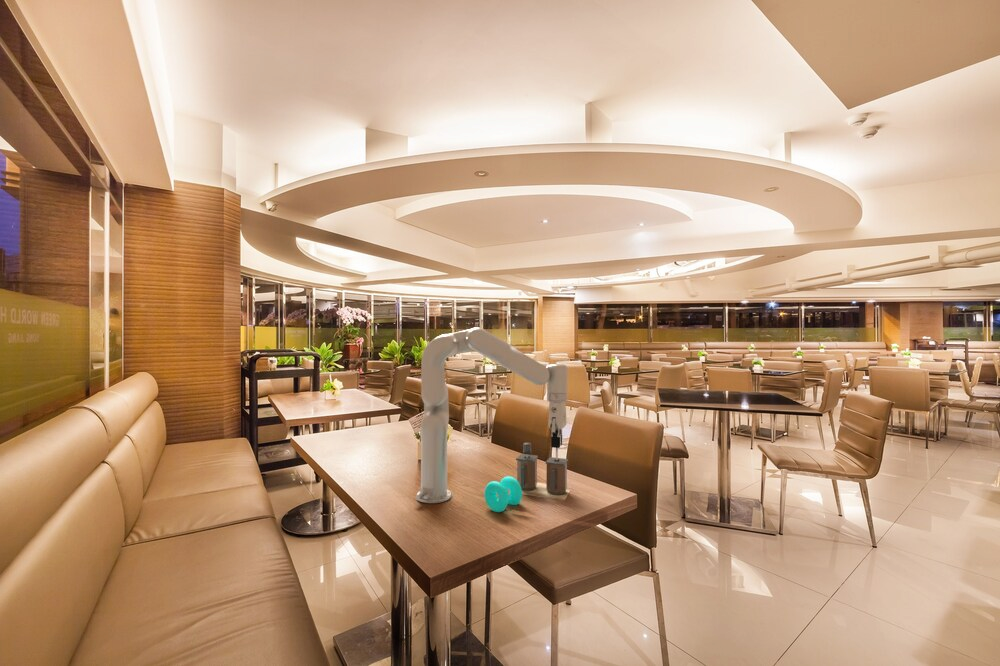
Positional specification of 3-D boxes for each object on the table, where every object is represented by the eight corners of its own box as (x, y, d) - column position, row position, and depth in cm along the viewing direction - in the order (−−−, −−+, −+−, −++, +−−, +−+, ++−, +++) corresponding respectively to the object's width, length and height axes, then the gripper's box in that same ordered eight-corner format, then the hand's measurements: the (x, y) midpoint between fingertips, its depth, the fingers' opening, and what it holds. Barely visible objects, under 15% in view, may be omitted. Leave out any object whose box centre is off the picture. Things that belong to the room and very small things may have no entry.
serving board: (564, 503, 146) (564, 500, 146) (511, 495, 153) (511, 492, 153) (571, 489, 159) (571, 486, 159) (522, 483, 166) (522, 480, 166)
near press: (562, 498, 148) (562, 466, 148) (543, 495, 150) (543, 463, 150) (567, 489, 156) (567, 458, 157) (549, 487, 159) (549, 456, 159)
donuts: (523, 508, 142) (523, 479, 142) (503, 517, 135) (503, 486, 135) (502, 500, 149) (503, 472, 149) (482, 508, 142) (482, 479, 142)
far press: (531, 494, 152) (531, 448, 152) (513, 491, 154) (513, 446, 154) (538, 485, 160) (538, 442, 161) (520, 483, 163) (521, 440, 163)
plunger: (561, 479, 151) (561, 437, 151) (548, 478, 153) (549, 436, 153) (564, 475, 156) (564, 434, 156) (551, 474, 158) (552, 433, 158)
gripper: (562, 400, 146) (562, 453, 146) (571, 394, 161) (570, 442, 161) (541, 399, 148) (541, 450, 148) (552, 393, 164) (551, 440, 163)
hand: (556, 445), depth 155 cm, fingers closed on plunger, 3 cm apart
